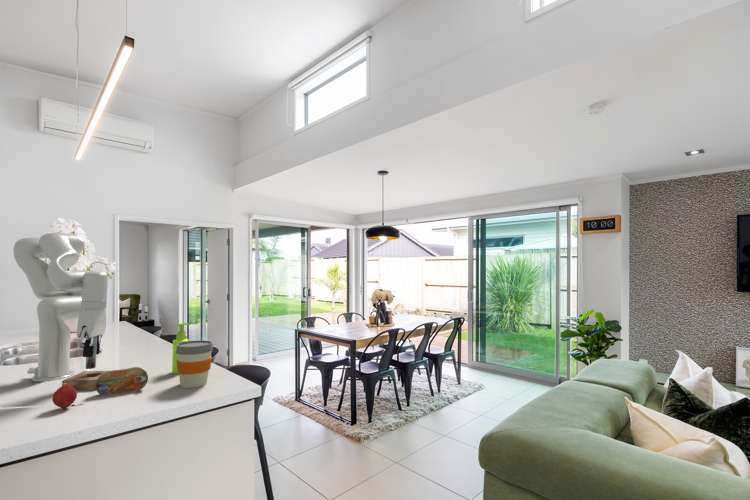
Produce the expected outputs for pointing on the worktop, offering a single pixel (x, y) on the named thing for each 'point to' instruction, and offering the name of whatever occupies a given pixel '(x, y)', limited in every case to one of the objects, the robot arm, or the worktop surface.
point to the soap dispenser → (180, 338)
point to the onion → (64, 396)
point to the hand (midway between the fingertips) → (91, 355)
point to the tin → (121, 381)
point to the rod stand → (84, 380)
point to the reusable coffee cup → (194, 362)
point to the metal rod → (92, 360)
